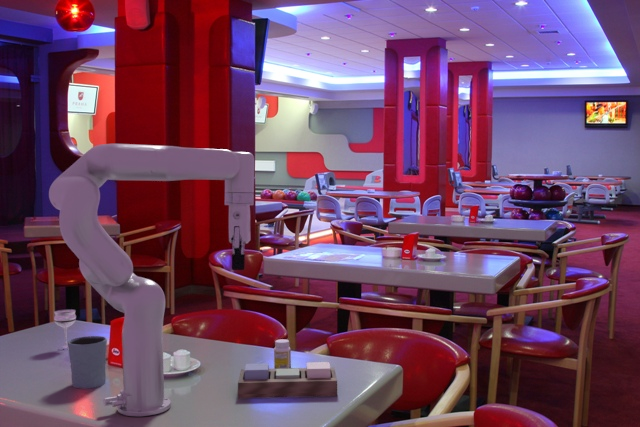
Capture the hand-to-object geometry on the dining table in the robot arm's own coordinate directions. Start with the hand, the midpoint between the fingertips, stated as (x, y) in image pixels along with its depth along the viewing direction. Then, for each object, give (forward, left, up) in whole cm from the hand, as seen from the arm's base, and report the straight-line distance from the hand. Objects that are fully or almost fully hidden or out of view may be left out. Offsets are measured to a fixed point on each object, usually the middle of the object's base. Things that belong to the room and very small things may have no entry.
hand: (238, 269), depth 188 cm
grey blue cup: (-33, +26, -32) cm, 52 cm away
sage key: (+9, -9, -30) cm, 33 cm away
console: (+9, -9, -31) cm, 34 cm away
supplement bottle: (+17, +8, -32) cm, 37 cm away
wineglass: (-29, +69, -32) cm, 81 cm away
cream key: (+16, -13, -29) cm, 35 cm away
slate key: (+2, -5, -29) cm, 29 cm away
